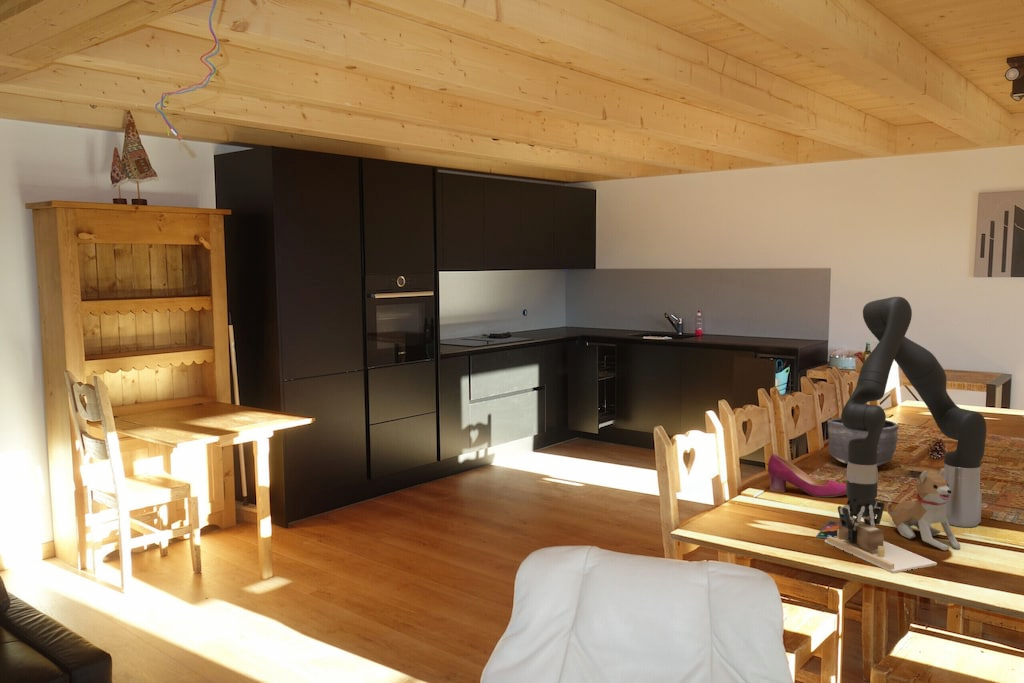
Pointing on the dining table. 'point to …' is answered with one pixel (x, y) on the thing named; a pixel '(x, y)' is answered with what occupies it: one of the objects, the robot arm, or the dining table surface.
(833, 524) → the smartphone
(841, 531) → the brown rectangular block
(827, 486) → the high heel
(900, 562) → the wall board
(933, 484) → the toy
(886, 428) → the tea bowl
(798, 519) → the dining table surface
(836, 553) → the dining table surface
